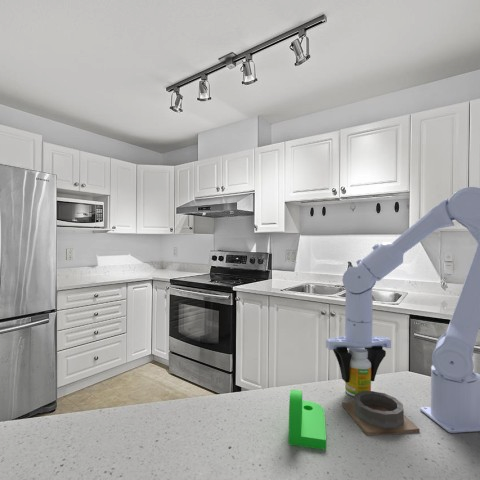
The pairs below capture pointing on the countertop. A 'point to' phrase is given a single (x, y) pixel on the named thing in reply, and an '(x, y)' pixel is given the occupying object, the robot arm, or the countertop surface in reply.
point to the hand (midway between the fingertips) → (358, 379)
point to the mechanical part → (306, 422)
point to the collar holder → (379, 414)
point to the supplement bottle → (358, 372)
